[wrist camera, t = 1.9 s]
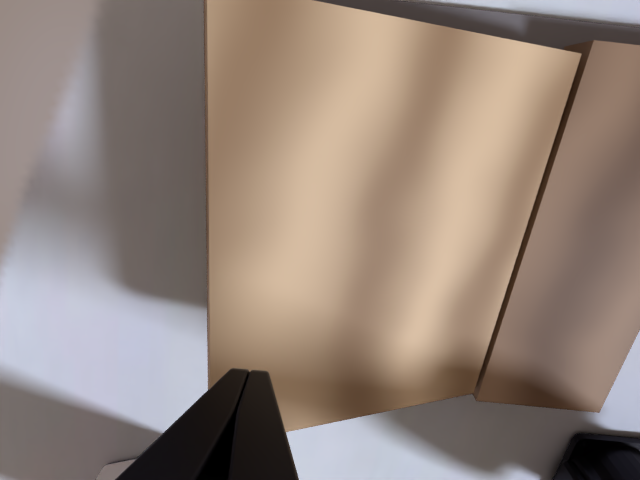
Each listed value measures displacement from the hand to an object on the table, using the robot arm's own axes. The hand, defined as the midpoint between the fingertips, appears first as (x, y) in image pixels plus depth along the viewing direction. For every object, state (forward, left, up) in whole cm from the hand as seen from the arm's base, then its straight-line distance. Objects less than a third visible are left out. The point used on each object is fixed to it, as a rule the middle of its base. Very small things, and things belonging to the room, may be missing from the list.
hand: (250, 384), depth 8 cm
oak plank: (-4, 0, -9) cm, 10 cm away
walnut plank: (-15, 0, -12) cm, 19 cm away
